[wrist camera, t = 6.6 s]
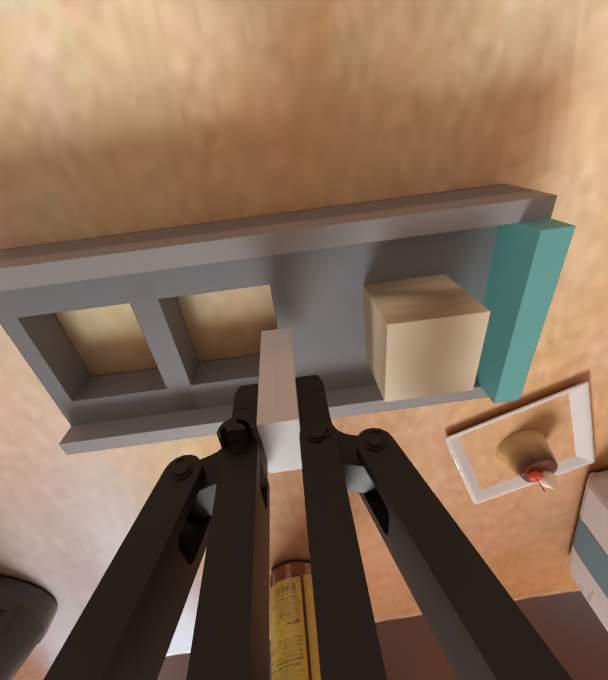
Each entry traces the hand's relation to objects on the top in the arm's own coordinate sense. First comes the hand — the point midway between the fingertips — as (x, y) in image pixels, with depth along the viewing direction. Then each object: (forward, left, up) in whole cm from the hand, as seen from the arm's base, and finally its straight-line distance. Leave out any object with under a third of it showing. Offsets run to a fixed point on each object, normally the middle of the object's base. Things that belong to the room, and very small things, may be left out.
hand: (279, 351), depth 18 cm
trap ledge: (0, 0, -4) cm, 4 cm away
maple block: (+7, 0, -2) cm, 8 cm away
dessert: (+20, -17, -5) cm, 27 cm away
